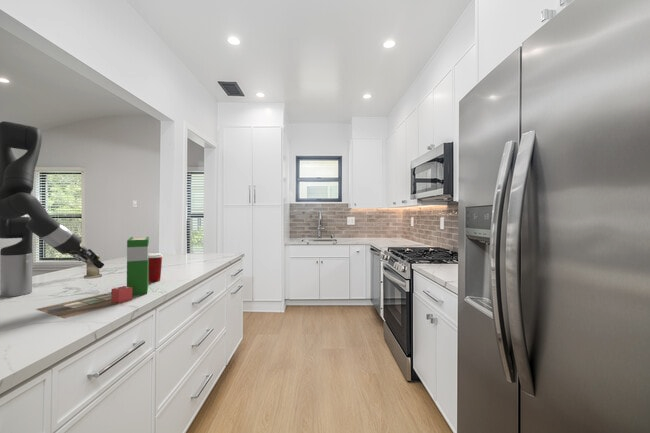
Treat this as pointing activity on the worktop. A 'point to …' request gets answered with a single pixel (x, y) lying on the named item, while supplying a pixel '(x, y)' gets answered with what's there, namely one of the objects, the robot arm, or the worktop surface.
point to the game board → (80, 306)
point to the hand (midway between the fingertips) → (98, 266)
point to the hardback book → (138, 265)
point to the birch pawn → (92, 270)
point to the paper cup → (155, 267)
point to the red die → (121, 294)
